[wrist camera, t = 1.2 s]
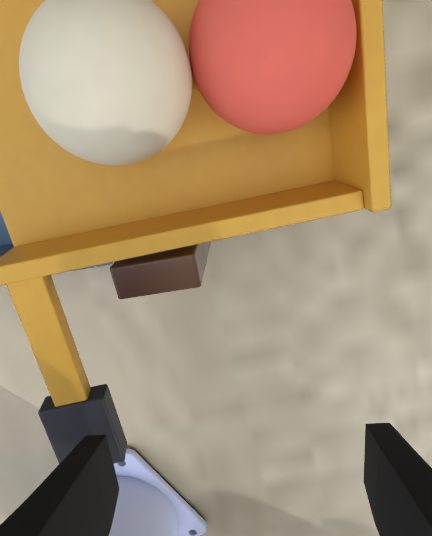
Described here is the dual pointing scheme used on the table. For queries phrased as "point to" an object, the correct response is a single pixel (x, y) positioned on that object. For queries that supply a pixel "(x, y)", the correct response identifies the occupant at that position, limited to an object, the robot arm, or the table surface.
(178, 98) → the ball cream
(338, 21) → the ball coral
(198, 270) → the dish stand
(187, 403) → the table surface
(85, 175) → the yellow tray
